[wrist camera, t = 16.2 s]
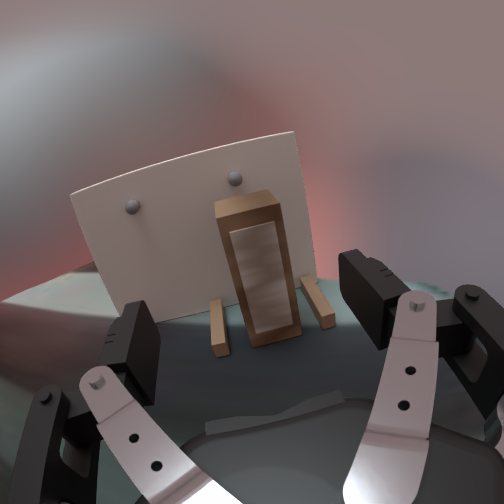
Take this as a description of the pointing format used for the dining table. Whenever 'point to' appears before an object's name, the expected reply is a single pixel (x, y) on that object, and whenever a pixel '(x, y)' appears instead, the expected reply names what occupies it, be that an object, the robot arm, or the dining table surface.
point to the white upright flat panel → (194, 230)
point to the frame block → (260, 265)
